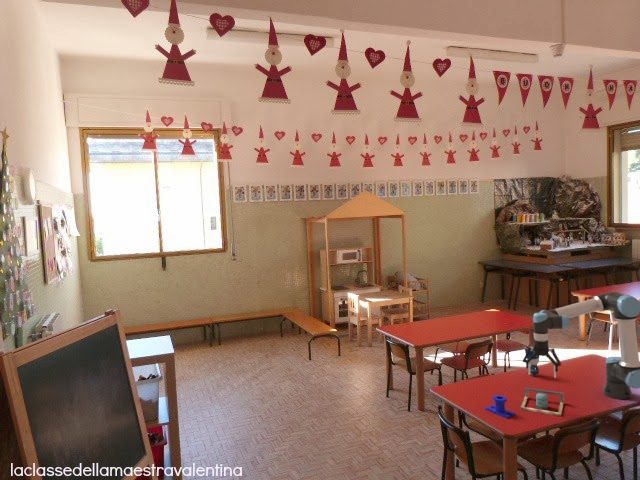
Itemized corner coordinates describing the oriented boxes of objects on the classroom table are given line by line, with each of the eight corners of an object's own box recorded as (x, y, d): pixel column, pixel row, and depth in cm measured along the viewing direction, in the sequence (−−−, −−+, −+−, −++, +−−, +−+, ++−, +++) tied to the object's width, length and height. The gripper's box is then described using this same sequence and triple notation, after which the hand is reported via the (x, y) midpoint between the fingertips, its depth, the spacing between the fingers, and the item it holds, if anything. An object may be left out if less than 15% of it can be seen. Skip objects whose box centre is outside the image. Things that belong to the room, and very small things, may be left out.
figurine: (541, 378, 322) (541, 349, 321) (527, 378, 324) (526, 349, 323) (537, 372, 335) (536, 344, 334) (523, 372, 337) (522, 344, 336)
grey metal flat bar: (563, 403, 282) (563, 392, 282) (563, 404, 281) (563, 393, 280) (525, 397, 293) (525, 387, 293) (525, 398, 292) (524, 388, 291)
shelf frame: (563, 403, 282) (563, 401, 282) (560, 416, 265) (560, 414, 265) (525, 397, 293) (525, 395, 293) (520, 409, 276) (520, 407, 276)
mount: (485, 409, 278) (484, 395, 277) (493, 406, 282) (493, 392, 281) (506, 418, 265) (506, 403, 265) (515, 415, 269) (515, 400, 268)
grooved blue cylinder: (548, 405, 279) (548, 394, 279) (547, 409, 274) (547, 398, 273) (536, 404, 283) (536, 392, 282) (535, 408, 277) (535, 396, 277)
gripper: (565, 340, 273) (566, 376, 274) (519, 336, 286) (520, 370, 287) (564, 343, 266) (565, 380, 267) (517, 339, 279) (518, 374, 280)
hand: (542, 375), depth 277 cm, fingers open, 13 cm apart
